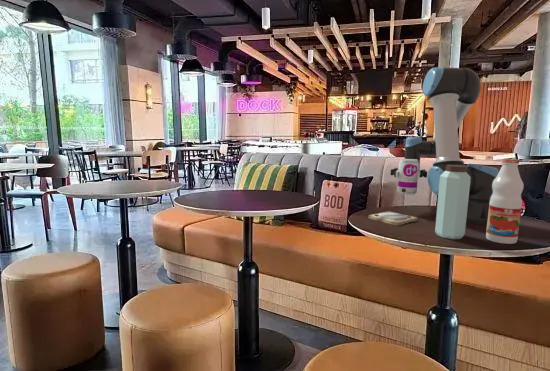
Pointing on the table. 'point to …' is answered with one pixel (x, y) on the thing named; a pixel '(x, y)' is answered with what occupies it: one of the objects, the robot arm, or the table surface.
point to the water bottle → (452, 202)
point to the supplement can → (408, 176)
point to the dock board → (392, 218)
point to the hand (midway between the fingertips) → (407, 175)
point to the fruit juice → (505, 204)
